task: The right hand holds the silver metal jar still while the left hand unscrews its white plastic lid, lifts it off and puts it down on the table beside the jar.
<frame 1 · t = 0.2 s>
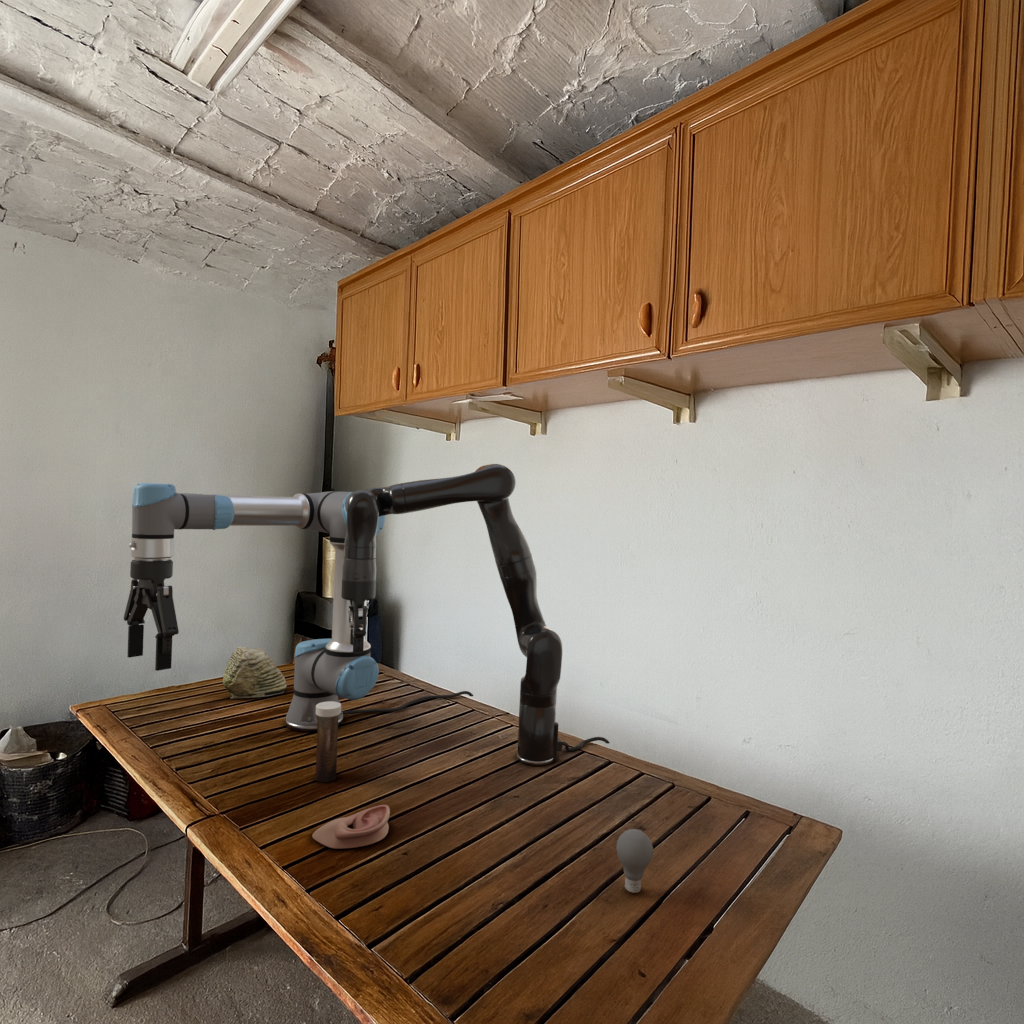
left hand: (148, 662, 129), 28 cm above the table, tool pointing down, fingers open, 13 cm apart
right hand: (356, 648, 144), 29 cm above the table, tool pointing down, fingers open, 8 cm apart
light bulb: (632, 891, 106), on the table
fossil: (254, 694, 198), on the table
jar: (325, 778, 143), on the table
lid: (328, 706, 142), point 16 cm above the table, screwed on, not yet turned
anatomical model: (351, 834, 120), on the table
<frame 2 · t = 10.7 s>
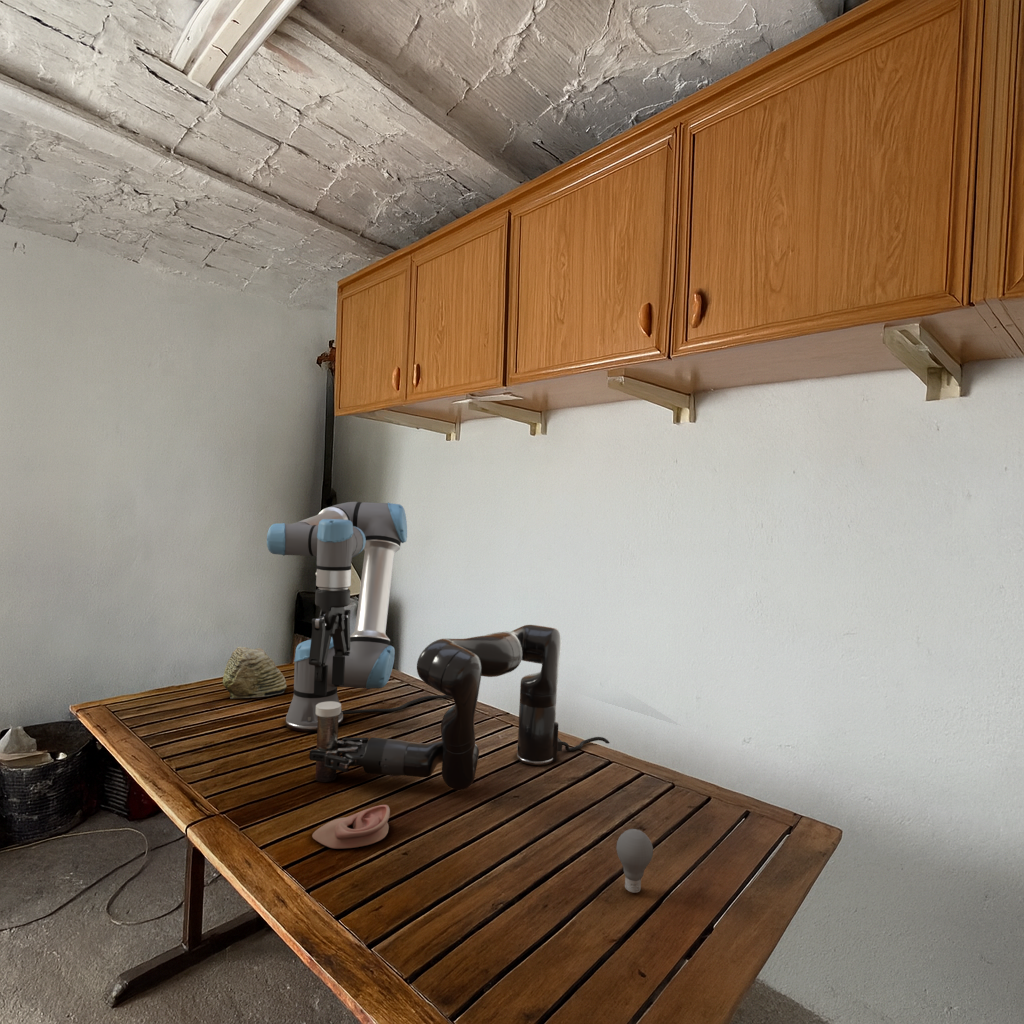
left hand: (329, 689, 142), 20 cm above the table, tool pointing down, fingers open, 7 cm apart
right hand: (315, 750, 143), 6 cm above the table, tool horizontal, fingers closed on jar, 4 cm apart
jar: (325, 778, 143), on the table, touching right hand
everything else where it was.
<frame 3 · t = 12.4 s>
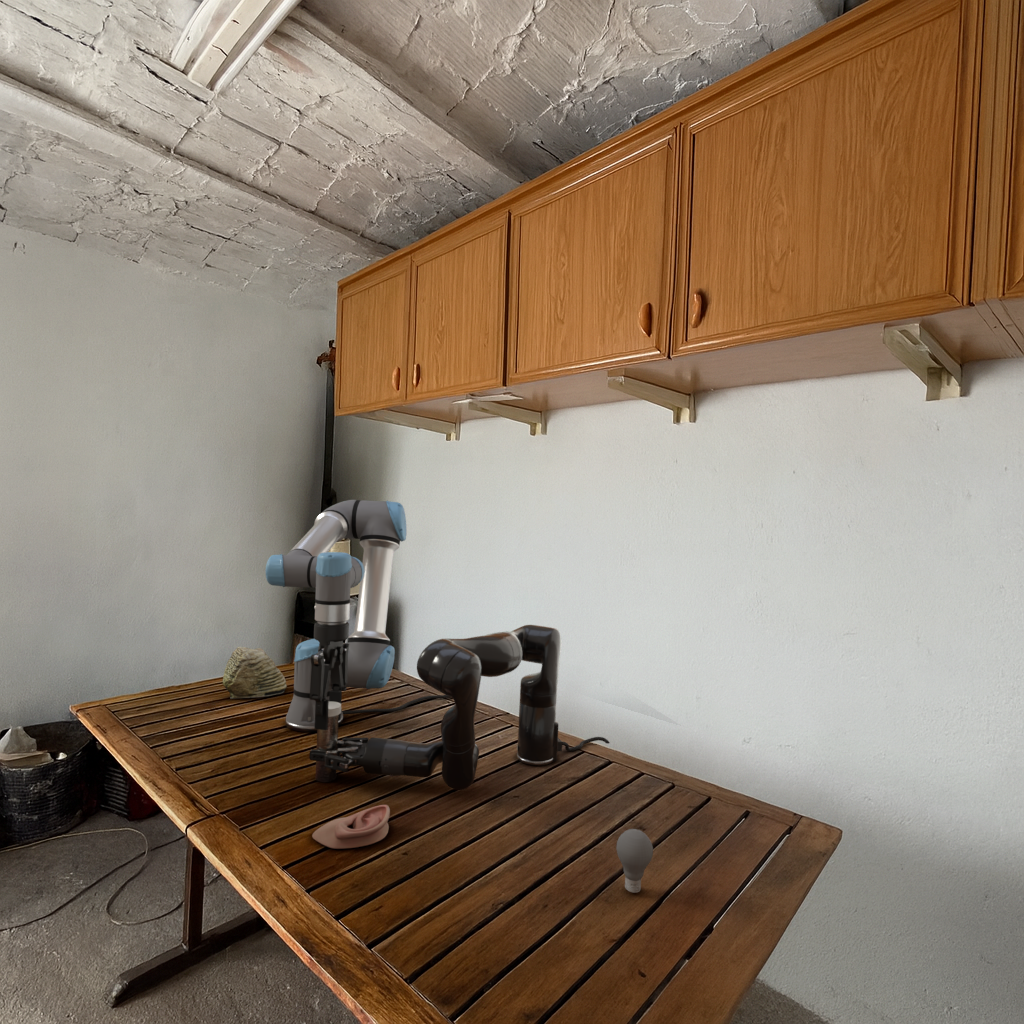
left hand: (327, 723, 142), 12 cm above the table, tool pointing down, fingers closed on lid, 5 cm apart
right hand: (315, 750, 143), 6 cm above the table, tool horizontal, fingers closed on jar, 4 cm apart
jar: (325, 778, 143), on the table, touching right hand
lid: (328, 706, 142), point 16 cm above the table, screwed on, not yet turned, touching left hand
everything else where it was.
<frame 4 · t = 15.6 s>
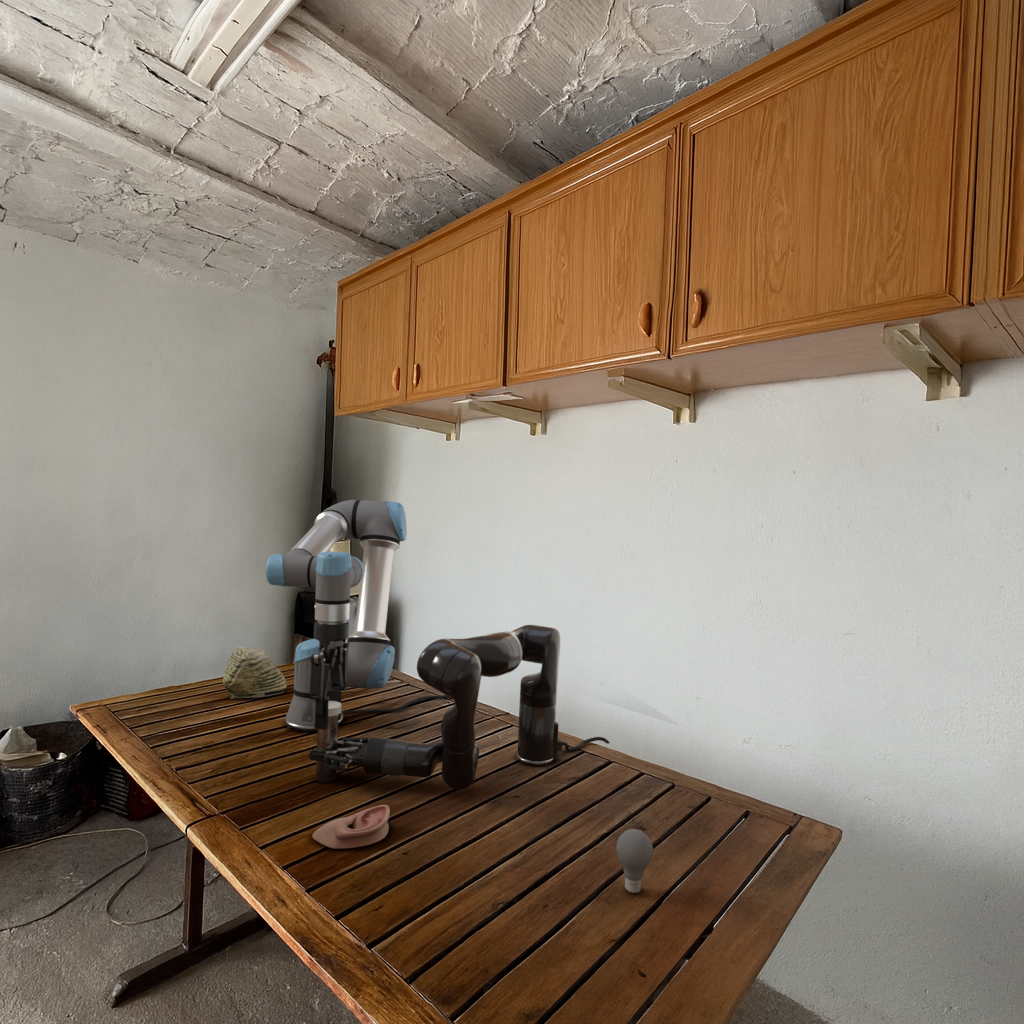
left hand: (327, 723, 142), 12 cm above the table, tool pointing down, fingers closed on lid, 5 cm apart
right hand: (315, 750, 143), 6 cm above the table, tool horizontal, fingers closed on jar, 4 cm apart
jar: (325, 778, 143), on the table, touching right hand
lid: (328, 706, 142), point 16 cm above the table, turned 92° so far, risen 0.1 cm, still on its thread, touching left hand
everything else where it was.
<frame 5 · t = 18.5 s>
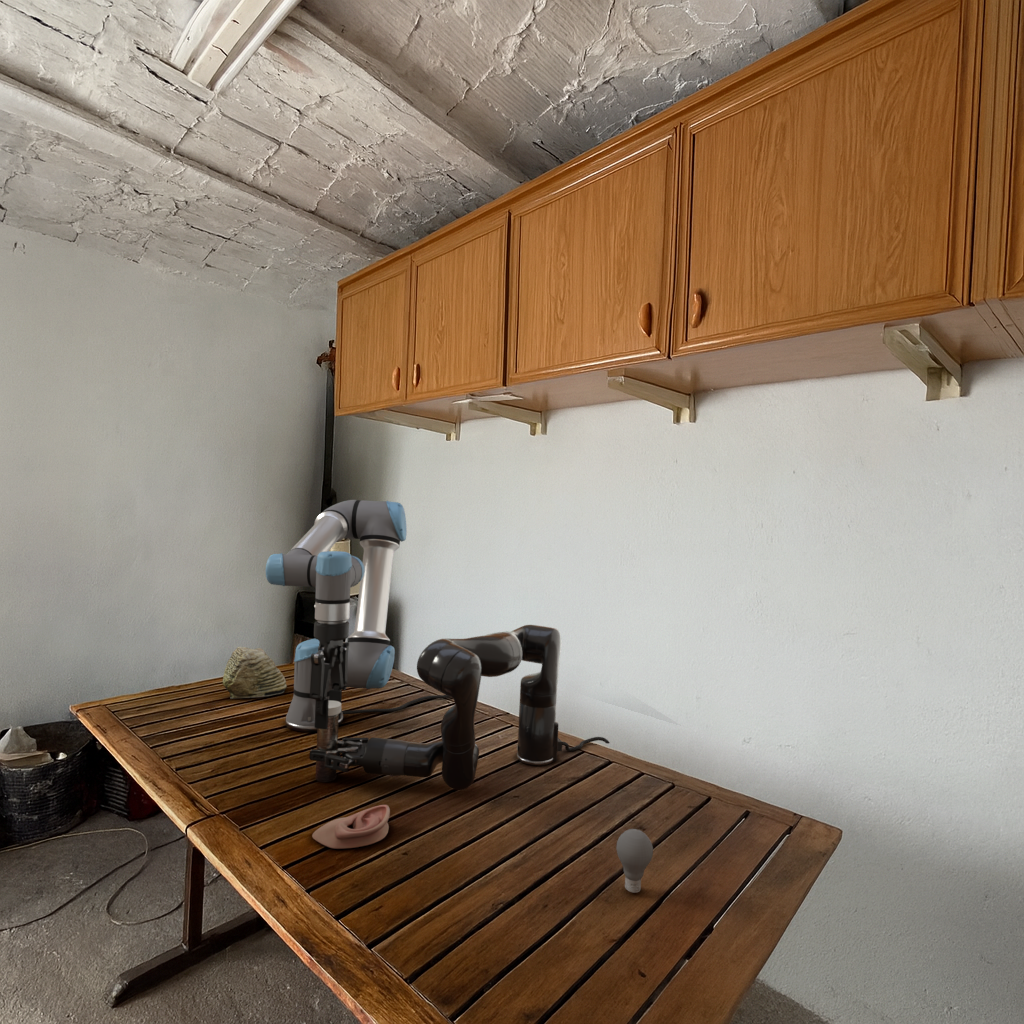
left hand: (327, 723, 142), 12 cm above the table, tool pointing down, fingers closed on lid, 5 cm apart
right hand: (315, 750, 143), 6 cm above the table, tool horizontal, fingers closed on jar, 4 cm apart
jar: (325, 778, 143), on the table, touching right hand
lid: (328, 705, 142), point 16 cm above the table, turned 184° so far, risen 0.2 cm, still on its thread, touching left hand
everything else where it was.
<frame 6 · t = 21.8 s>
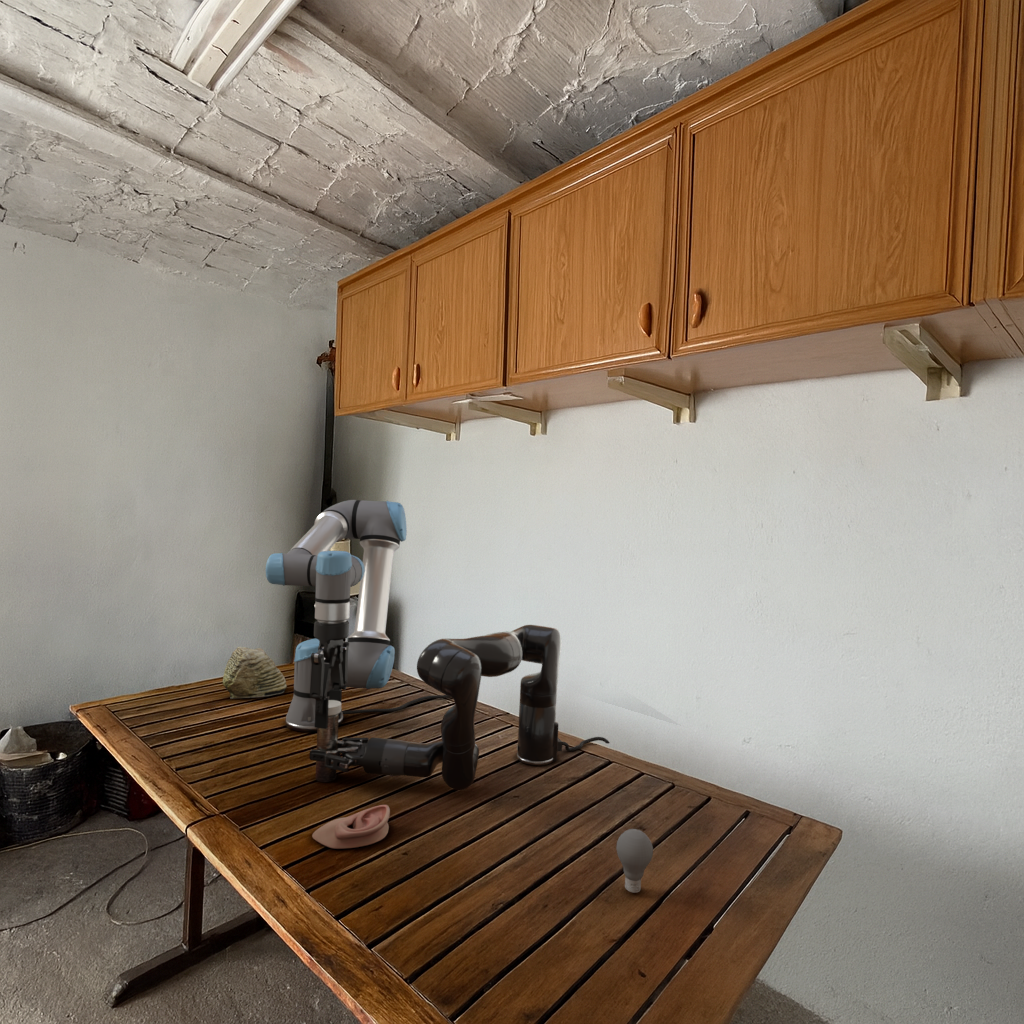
left hand: (327, 722, 142), 13 cm above the table, tool pointing down, fingers closed on lid, 5 cm apart
right hand: (315, 750, 143), 6 cm above the table, tool horizontal, fingers closed on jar, 4 cm apart
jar: (325, 778, 143), on the table, touching right hand
lid: (328, 705, 142), point 16 cm above the table, turned 275° so far, risen 0.3 cm, still on its thread, touching left hand
everything else where it was.
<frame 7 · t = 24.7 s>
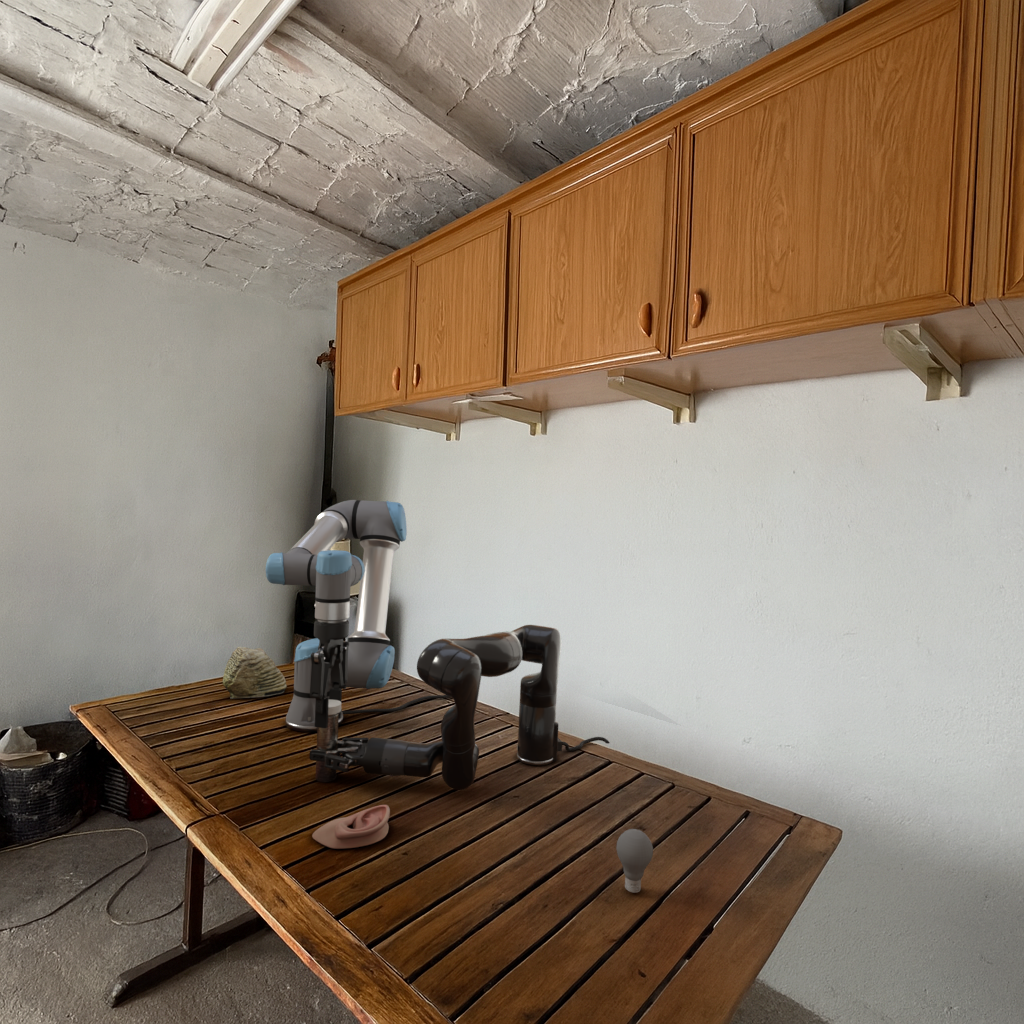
left hand: (328, 722, 142), 13 cm above the table, tool pointing down, fingers closed on lid, 5 cm apart
right hand: (315, 750, 143), 6 cm above the table, tool horizontal, fingers closed on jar, 4 cm apart
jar: (325, 778, 143), on the table, touching right hand
lid: (328, 704, 142), point 17 cm above the table, turned 367° so far, risen 0.4 cm, still on its thread, touching left hand
everything else where it was.
when the left hand's fingers open (0 cm above the table, at t = 32.0 s): lid drops 3 cm, point 1 cm above the table.
when the right hand's fingers open (6 cm above the table, at t = 32.6 s): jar stays where it is, on the table.
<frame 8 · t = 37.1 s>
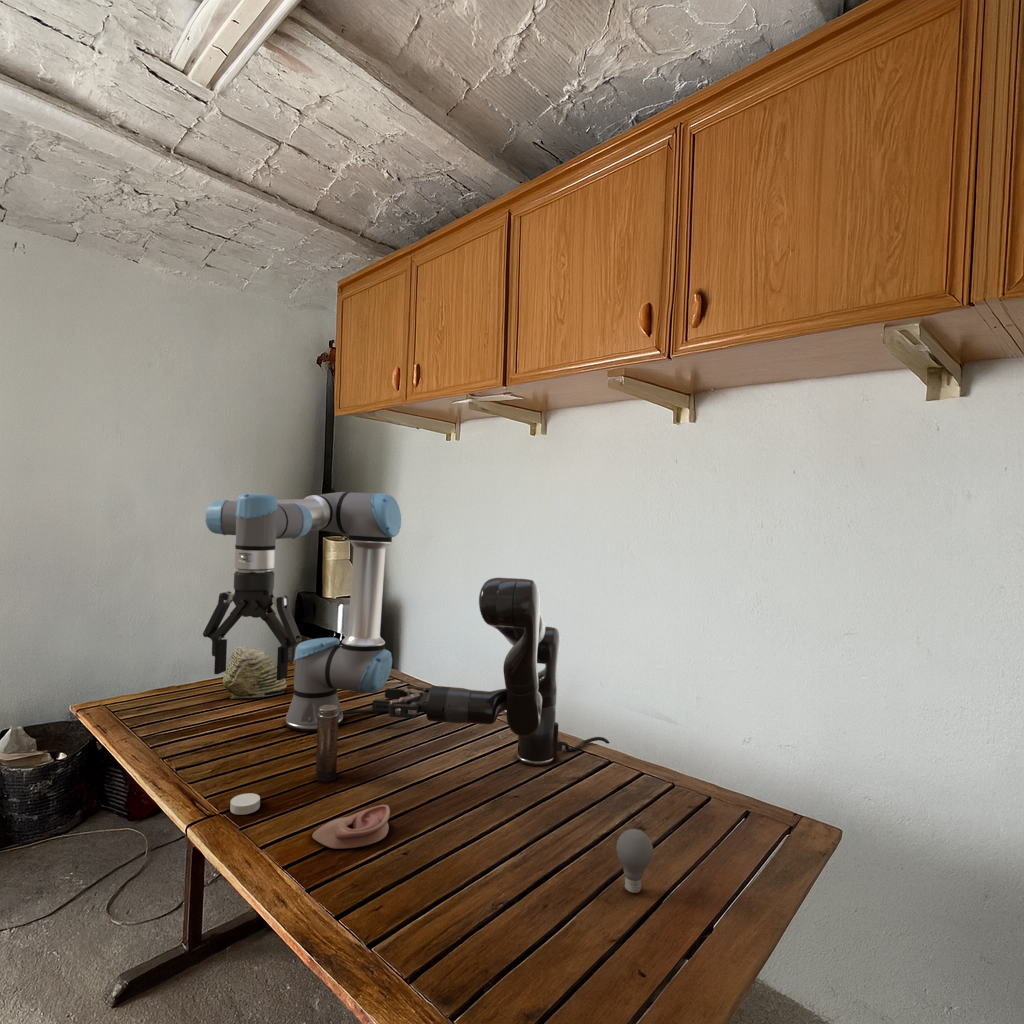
left hand: (250, 675, 127), 27 cm above the table, tool pointing down, fingers open, 13 cm apart
right hand: (379, 698, 141), 19 cm above the table, tool horizontal, fingers open, 8 cm apart
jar: (325, 778, 143), on the table
lid: (245, 801, 128), point 1 cm above the table, off its thread
everything else where it was.
at the end: lid came off its thread; lid point 1.4 cm above the table; the left hand is holding nothing; the right hand is holding nothing; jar tilted 0°; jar moved 0.0 cm from its start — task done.
